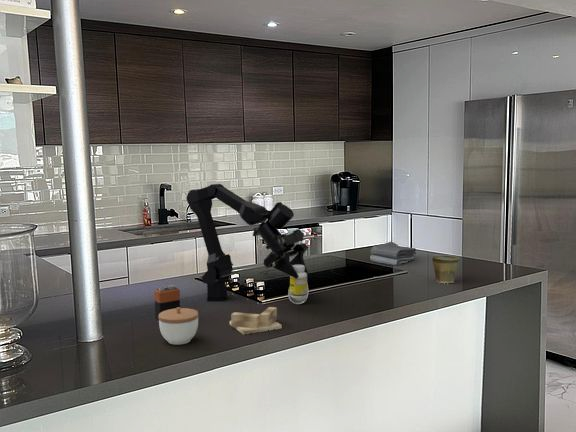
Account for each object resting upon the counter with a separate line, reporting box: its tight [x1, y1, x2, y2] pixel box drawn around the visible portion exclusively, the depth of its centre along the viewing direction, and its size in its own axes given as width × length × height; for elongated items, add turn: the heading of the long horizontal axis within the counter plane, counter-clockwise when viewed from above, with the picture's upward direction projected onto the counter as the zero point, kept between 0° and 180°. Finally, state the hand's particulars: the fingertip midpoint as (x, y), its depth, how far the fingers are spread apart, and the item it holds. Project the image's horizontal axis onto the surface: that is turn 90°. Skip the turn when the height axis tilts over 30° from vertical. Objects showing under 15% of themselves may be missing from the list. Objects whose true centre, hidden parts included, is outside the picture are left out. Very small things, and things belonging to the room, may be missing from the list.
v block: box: [229, 306, 283, 336], centre depth 164 cm, size 11×15×4 cm
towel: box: [369, 241, 417, 266], centre depth 257 cm, size 15×18×8 cm
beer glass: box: [287, 282, 310, 305], centre depth 194 cm, size 7×7×15 cm
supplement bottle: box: [289, 265, 308, 298], centre depth 175 cm, size 5×5×10 cm
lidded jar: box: [158, 306, 199, 346], centre depth 152 cm, size 11×11×9 cm
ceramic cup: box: [432, 254, 460, 285], centre depth 217 cm, size 13×10×10 cm
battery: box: [154, 284, 181, 320], centre depth 173 cm, size 4×7×10 cm, turn 127°
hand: (302, 275), depth 174 cm, fingers closed on supplement bottle, 5 cm apart
